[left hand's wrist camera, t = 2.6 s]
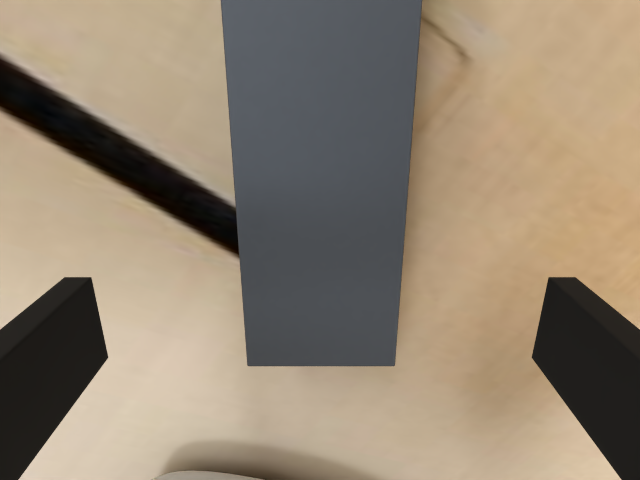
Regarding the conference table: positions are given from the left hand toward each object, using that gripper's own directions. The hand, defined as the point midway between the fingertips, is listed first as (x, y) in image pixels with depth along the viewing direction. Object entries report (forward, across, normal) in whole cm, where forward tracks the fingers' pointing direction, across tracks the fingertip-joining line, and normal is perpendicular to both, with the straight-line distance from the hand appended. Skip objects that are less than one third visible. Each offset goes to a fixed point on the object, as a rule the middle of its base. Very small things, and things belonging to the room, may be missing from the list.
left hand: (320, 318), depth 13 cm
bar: (+12, 0, -35) cm, 37 cm away
